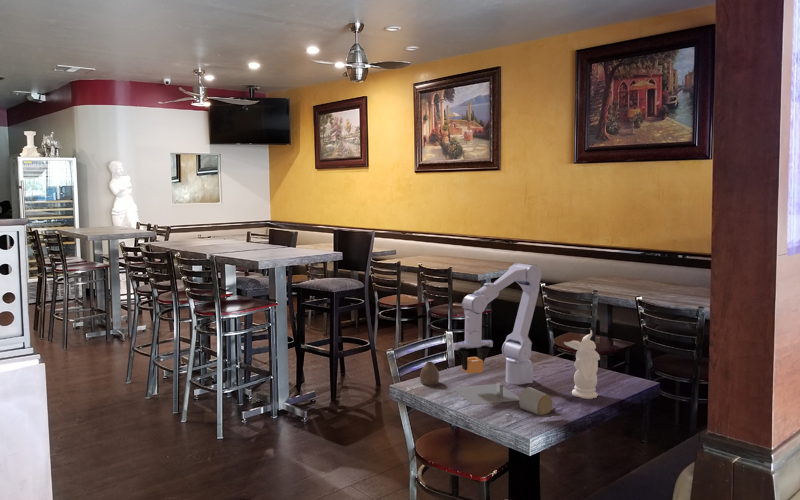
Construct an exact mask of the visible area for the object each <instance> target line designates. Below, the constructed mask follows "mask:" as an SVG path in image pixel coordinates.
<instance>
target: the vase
mask: <svg viewBox="0 0 800 500" xmlns="http://www.w3.org/2000/svg"><path fill="white" fill-rule="evenodd" d="M419 380H420V383H421V384H422V385H424V386H431V387H432V386H437V385H438V384H439V382H440V372H439V370H438V368H437V366H436V365H435V364H434V362H433V361H427V362H426V363H425V364H424V366H422V368H421V370H420V373H419Z"/></svg>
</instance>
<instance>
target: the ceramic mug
mask: <svg viewBox="0 0 800 500" xmlns="http://www.w3.org/2000/svg"><path fill="white" fill-rule="evenodd" d="M519 398H520V399H519V401H518V402H519V403H518V405H519V408H520V409H521V410H525V411H526V412H527V411H528V412H530V413H532V414H535V415H539V416H542V417H545V416H543V415H545V414H549V413H550V412H551V411H552V410H554V408H555V407H554V405H553V399H552V397H551V396H550V395H548V394H547V393H545V392H543V391H540V390H538V389H535V388H533V387H532V386H531V387H530V386H528V387H525V388H524V389H523V390H522V391H521V393H520V396H519Z"/></svg>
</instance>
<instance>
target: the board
mask: <svg viewBox="0 0 800 500" xmlns="http://www.w3.org/2000/svg"><path fill="white" fill-rule="evenodd" d="M452 389H453V390H454V391H455V392H457V393H458V394H459V396H461V397H462V398H464V399H465V401H467V402H468V403H469V404H470V405H472V406H475V405H476V406H477V405H485V404H494V403H495V404H497V403H506V402H507V403H509V402H516V401H517V402H519V399H520V396H518V395H516V394H515V393H513V392H512V391H511V390H509V389H507V388H506V387H505V386H503V398H499V397H498V396H496V394H497V383H491V384H480V385H479V384H478V385H469V386H468V385H466V386H456V387H452Z"/></svg>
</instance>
